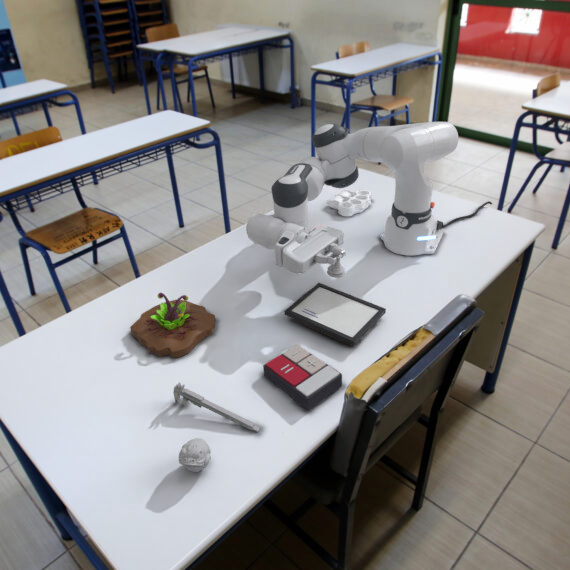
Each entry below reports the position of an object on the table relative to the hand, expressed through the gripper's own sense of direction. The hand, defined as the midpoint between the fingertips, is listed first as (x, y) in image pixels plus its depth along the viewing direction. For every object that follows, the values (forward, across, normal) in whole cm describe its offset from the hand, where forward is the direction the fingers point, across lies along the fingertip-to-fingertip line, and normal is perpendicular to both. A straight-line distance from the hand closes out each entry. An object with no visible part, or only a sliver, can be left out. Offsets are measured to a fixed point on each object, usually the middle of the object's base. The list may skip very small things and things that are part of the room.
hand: (339, 257), depth 127 cm
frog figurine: (+5, +58, -17) cm, 60 cm away
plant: (-30, +32, -17) cm, 47 cm away
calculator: (+8, +27, -17) cm, 33 cm away
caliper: (-1, +46, -17) cm, 49 cm away
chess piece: (-1, 0, -5) cm, 5 cm away
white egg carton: (-31, -58, -17) cm, 68 cm away
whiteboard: (+2, +4, -17) cm, 17 cm away
